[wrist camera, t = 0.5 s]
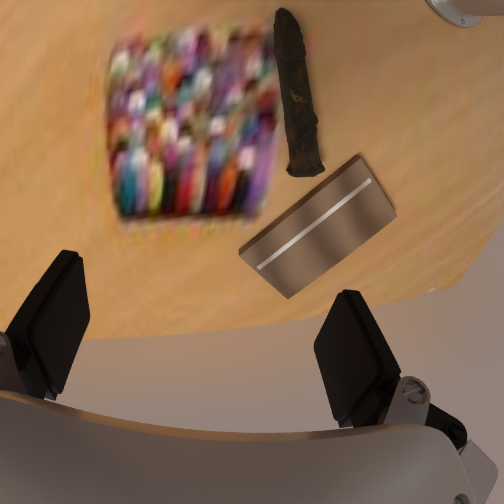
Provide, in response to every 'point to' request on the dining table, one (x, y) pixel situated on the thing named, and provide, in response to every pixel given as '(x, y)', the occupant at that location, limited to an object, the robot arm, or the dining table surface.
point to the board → (320, 229)
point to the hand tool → (296, 97)
